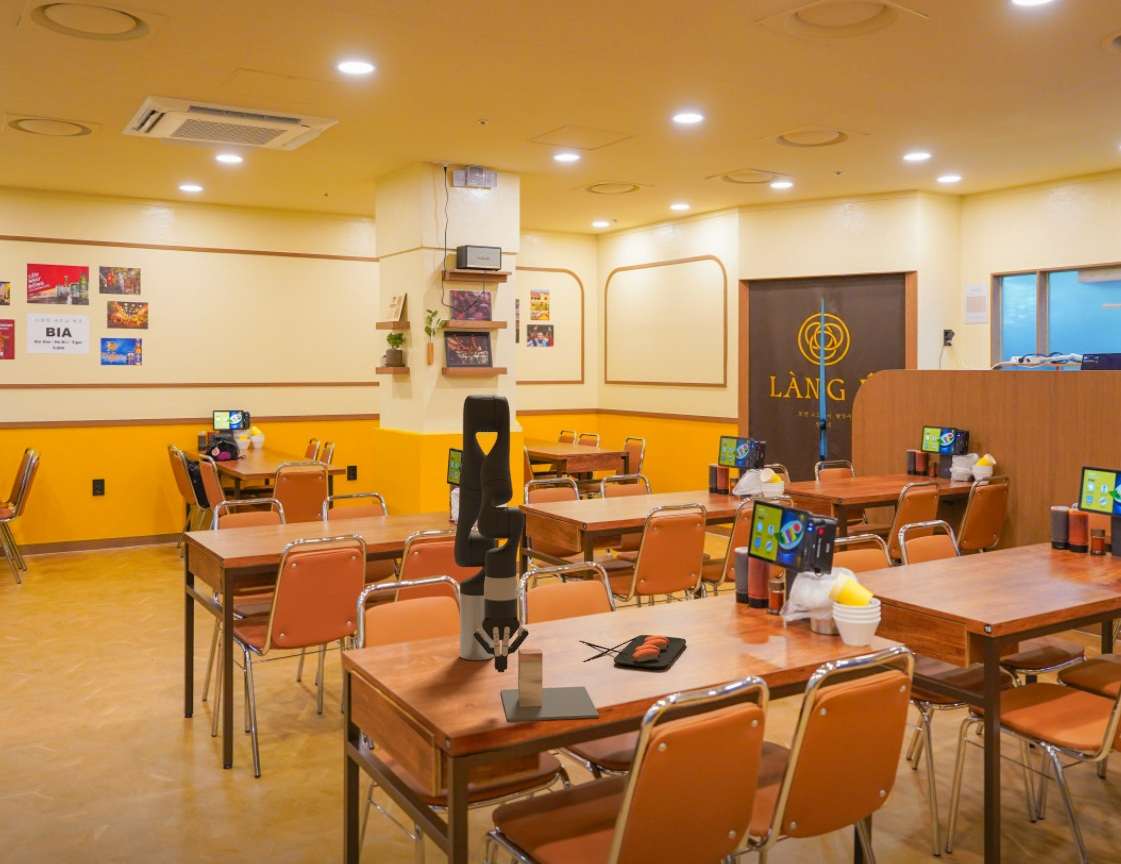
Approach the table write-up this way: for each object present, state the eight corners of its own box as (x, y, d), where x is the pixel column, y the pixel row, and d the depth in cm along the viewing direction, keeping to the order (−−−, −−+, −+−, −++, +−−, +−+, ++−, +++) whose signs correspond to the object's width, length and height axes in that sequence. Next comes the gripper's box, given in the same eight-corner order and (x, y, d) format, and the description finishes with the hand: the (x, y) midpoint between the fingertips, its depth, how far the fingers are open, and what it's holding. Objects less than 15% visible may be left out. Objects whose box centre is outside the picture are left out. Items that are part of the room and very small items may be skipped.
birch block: (518, 699, 224) (518, 647, 223) (539, 698, 224) (540, 646, 224) (520, 706, 219) (520, 653, 218) (542, 705, 219) (542, 652, 219)
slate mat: (500, 692, 231) (500, 689, 231) (584, 688, 233) (584, 686, 233) (507, 721, 211) (507, 718, 211) (598, 717, 213) (598, 714, 213)
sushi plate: (665, 674, 247) (665, 659, 247) (553, 662, 257) (553, 648, 256) (688, 645, 274) (688, 631, 274) (586, 635, 284) (586, 622, 284)
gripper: (528, 591, 224) (528, 665, 225) (470, 592, 222) (470, 667, 223) (531, 598, 216) (531, 675, 217) (472, 599, 215) (472, 677, 216)
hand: (500, 671), depth 220 cm, fingers closed
